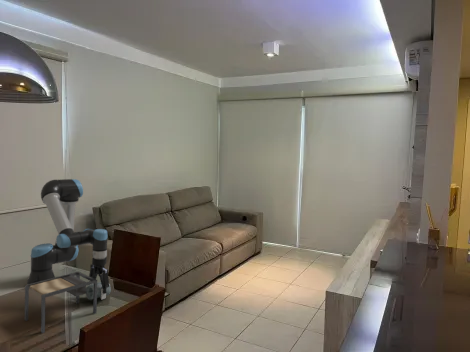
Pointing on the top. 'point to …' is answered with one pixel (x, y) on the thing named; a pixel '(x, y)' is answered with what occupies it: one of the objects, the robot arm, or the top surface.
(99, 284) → the grey streaked egg shape
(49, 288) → the trapdoor
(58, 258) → the robot arm
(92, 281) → the stand
